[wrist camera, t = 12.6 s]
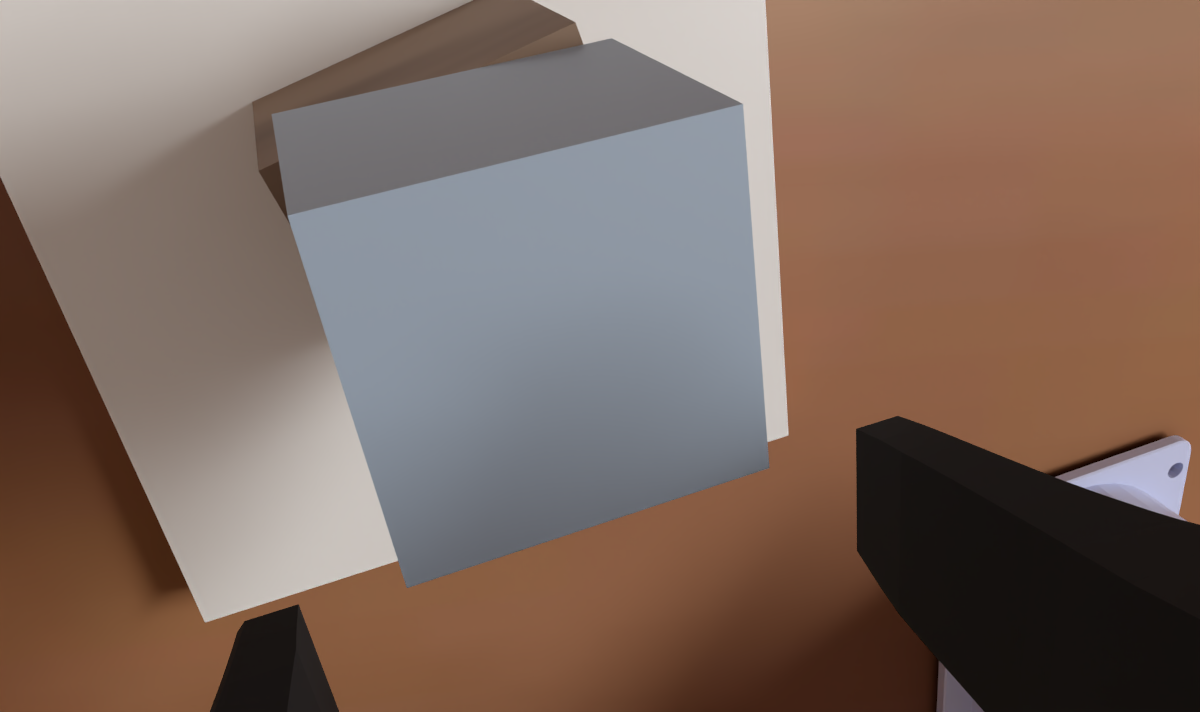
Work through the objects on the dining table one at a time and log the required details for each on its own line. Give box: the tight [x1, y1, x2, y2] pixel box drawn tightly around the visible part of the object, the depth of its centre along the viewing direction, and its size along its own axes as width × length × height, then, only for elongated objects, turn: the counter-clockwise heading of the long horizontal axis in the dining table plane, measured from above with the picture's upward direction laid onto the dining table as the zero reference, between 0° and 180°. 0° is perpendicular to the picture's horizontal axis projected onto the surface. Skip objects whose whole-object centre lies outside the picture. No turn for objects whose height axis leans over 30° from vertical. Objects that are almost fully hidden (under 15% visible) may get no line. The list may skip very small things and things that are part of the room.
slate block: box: [272, 38, 769, 588], centre depth 12 cm, size 4×4×4 cm
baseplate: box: [0, 0, 788, 622], centre depth 18 cm, size 16×13×1 cm
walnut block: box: [252, 0, 584, 224], centre depth 16 cm, size 4×4×4 cm
